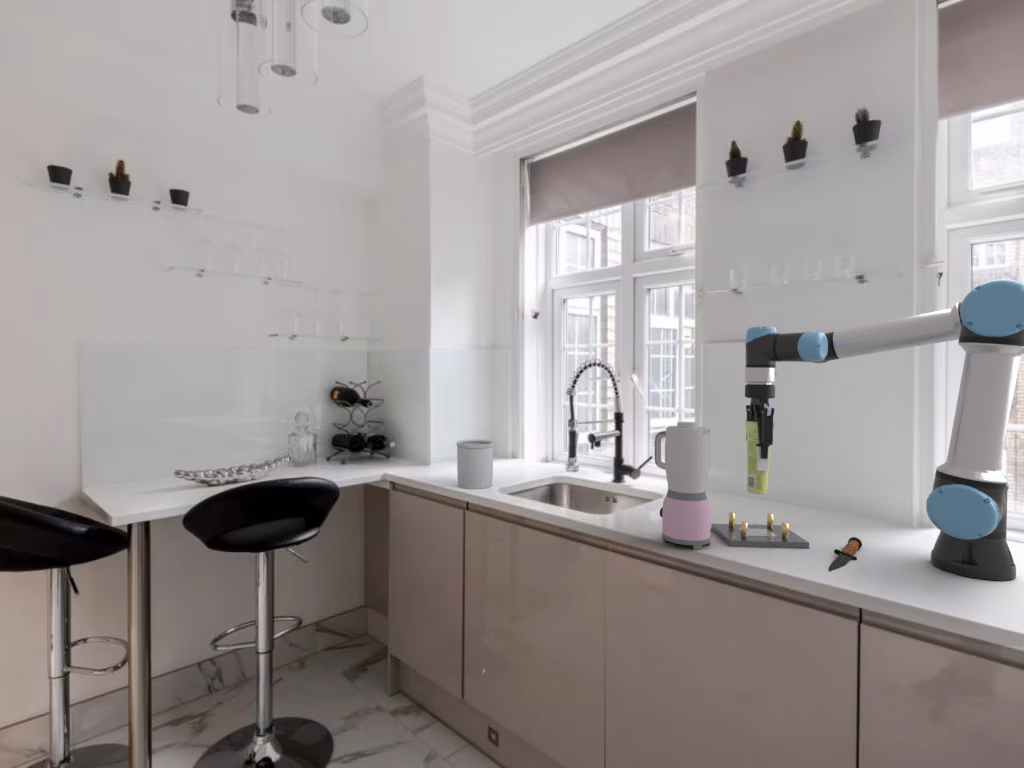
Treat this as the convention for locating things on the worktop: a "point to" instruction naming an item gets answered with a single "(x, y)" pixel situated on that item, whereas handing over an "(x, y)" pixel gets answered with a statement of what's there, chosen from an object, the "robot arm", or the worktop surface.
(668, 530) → the blender
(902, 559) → the worktop surface
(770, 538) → the plate
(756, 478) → the tube
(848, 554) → the knife
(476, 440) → the utensil holder
